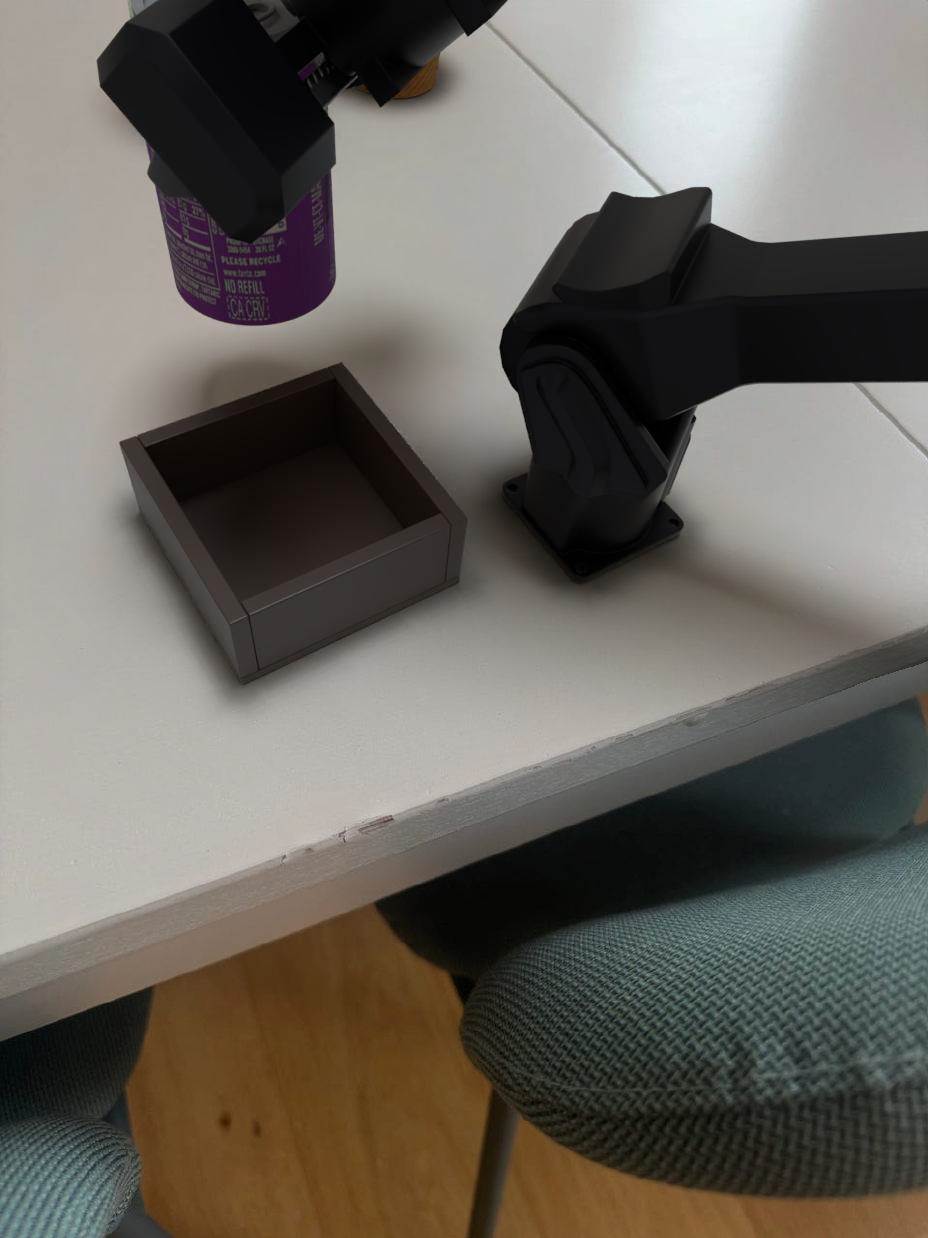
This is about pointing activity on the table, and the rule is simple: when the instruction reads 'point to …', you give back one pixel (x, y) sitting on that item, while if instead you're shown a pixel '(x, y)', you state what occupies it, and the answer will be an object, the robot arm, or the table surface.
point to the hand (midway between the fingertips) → (209, 139)
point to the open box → (295, 517)
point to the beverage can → (274, 263)
